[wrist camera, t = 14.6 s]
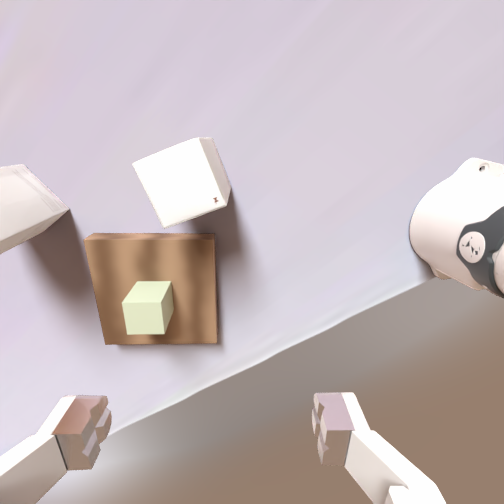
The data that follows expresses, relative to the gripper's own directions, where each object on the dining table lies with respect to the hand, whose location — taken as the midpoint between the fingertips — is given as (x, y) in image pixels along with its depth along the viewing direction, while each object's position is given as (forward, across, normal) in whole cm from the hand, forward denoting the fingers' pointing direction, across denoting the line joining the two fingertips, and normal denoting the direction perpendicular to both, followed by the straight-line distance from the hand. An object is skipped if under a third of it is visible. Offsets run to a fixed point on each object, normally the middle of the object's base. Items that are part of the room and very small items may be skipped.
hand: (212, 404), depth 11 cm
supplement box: (+34, +5, -5) cm, 35 cm away
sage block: (+30, +12, +13) cm, 35 cm away
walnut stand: (+33, +12, +13) cm, 38 cm away
